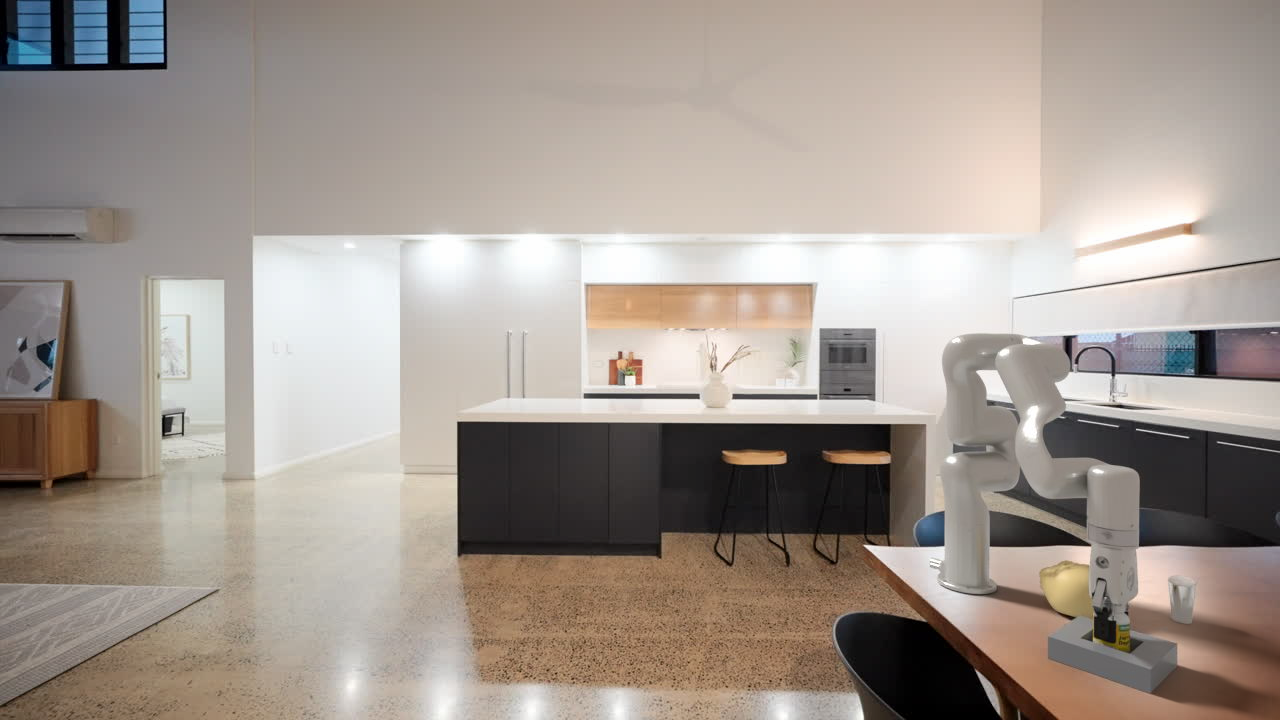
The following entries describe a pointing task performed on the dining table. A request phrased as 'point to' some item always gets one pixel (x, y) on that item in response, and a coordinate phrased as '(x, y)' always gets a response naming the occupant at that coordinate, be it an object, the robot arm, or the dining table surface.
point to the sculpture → (1068, 588)
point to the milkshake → (1182, 598)
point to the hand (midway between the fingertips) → (1110, 634)
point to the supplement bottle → (1118, 629)
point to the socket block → (1114, 655)
